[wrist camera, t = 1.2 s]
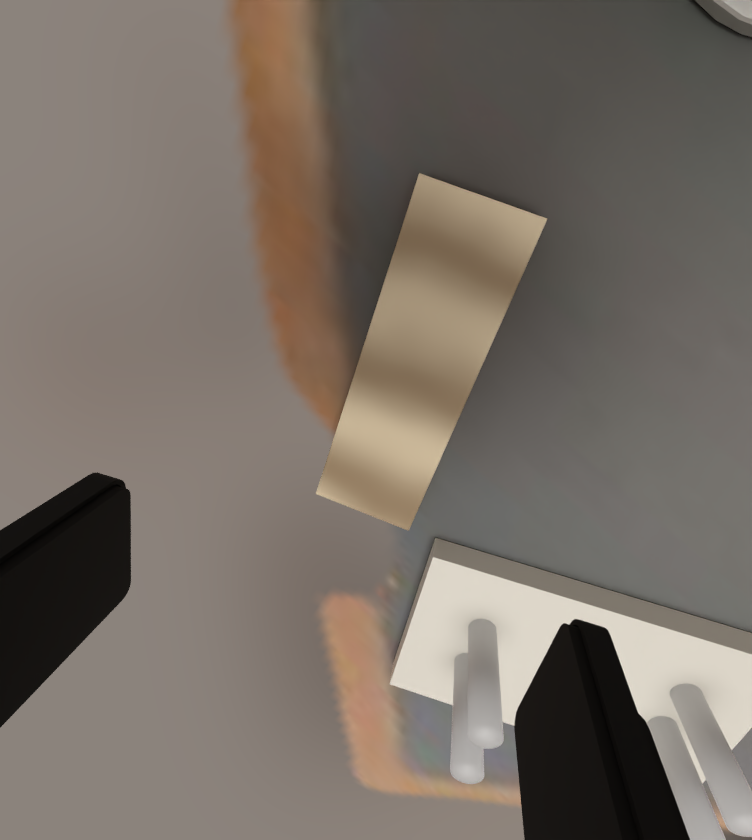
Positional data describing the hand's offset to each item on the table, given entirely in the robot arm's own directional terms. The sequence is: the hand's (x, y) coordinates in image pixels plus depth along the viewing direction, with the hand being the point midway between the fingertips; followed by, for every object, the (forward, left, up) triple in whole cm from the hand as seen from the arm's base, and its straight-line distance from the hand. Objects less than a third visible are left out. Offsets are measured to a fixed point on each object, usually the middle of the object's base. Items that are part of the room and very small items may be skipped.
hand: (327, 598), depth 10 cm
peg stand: (+17, +15, -18) cm, 29 cm away
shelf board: (0, 0, -19) cm, 19 cm away
